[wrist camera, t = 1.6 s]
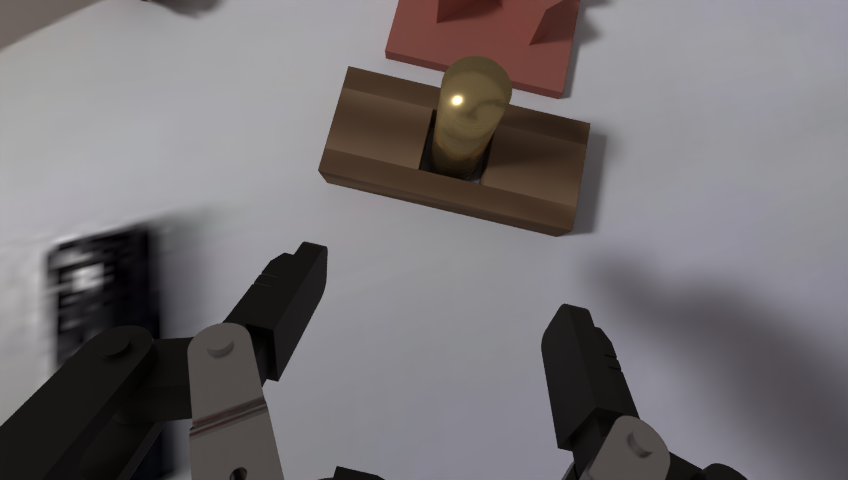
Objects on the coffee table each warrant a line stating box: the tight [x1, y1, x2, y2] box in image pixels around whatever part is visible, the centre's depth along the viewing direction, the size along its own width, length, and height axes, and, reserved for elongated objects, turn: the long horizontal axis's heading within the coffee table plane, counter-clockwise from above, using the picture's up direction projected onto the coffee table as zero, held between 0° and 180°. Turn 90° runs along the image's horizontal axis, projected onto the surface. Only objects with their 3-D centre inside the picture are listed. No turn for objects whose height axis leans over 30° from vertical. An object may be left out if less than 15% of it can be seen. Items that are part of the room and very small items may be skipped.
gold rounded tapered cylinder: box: [430, 56, 512, 180], centre depth 25 cm, size 4×4×11 cm
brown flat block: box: [318, 66, 590, 237], centre depth 29 cm, size 9×20×3 cm, turn 77°
